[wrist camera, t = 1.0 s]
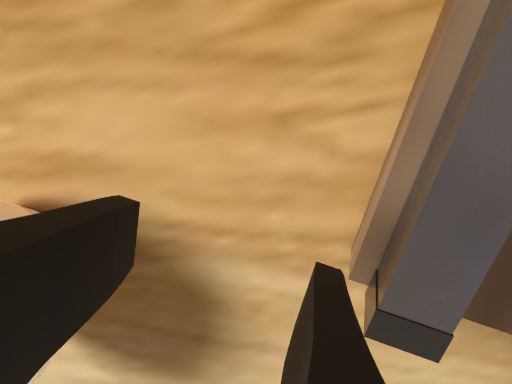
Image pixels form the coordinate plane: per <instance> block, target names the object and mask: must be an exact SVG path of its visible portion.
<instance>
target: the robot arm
mask: <svg viewBox="0 0 512 384" xmlns="http://www.w3.org/2000/svg"><path fill="white" fill-rule="evenodd" d="M139 207H140V202H138V201H135V200H132V199H129V198H126V197H123V196H120V195H118V196H111V197H105V198H100V199H96V200H91V201H87V202H83V203H79V204H75V205H70V206H66V207H62V208H58V209H54V210H49V211H45V212H41V213H37V214H32V215H27V216H22V217H17V218H12V219H7V220H3V221H0V384H28V383H29V381H30V380H31V379H32V378H33V377H34V376H35V374H36V373H37V372H38V371H39V370H40V369H41V368H42V367H43V366H44V365H45V363H46V362H47V361H48V360H49V359H50V358H51V357H52V356H53V355H54V354H55V353H56V352H57V351H58V350H59V349H60V348H61V347H62V346H63V345H64V344H65V343H66V342H67V341H68V340H69V339H70V338H71V337H72V336H73V335H74V334H75V333H76V332H77V331H78V330H79V329H80V328H81V327H82V326H83V325H84V324H85V323H86V322H87V321H88V320H89V319H90V318H91V317H92V315H93V314H94V313H95V312H96V311H97V310H98V309H99V308H100V307H101V306H102V305H103V304H104V303H105V302H106V301H107V300H108V299H109V298H110V297H111V296H112V294H113V293H114V292H115V290H116V289H117V288H118V287H119V285H120V284H121V283H122V281H123V280H124V278H125V277H126V276H127V274H128V273H129V272H130V270H131V269H132V267H133V265H134V255H135V246H136V236H137V226H138V216H139ZM281 384H385V382H384V380H383V378H382V376H381V374H380V372H379V370H378V368H377V366H376V363H375V361H374V359H373V357H372V355H371V353H370V350H369V348H368V346H367V343H366V341H365V338H364V336H363V333H362V331H361V328H360V325H359V323H358V320H357V318H356V315H355V312H354V309H353V306H352V303H351V300H350V297H349V293H348V290H347V286H346V282H345V278H344V275H343V273H342V271H341V270H340V269H337V268H334V267H331V266H328V265H325V264H322V263H319V262H316V264H315V267H314V270H313V273H312V276H311V279H310V282H309V285H308V288H307V291H306V294H305V297H304V300H303V303H302V306H301V309H300V312H299V314H298V317H297V320H296V323H295V327H294V330H293V334H292V337H291V341H290V344H289V348H288V351H287V355H286V358H285V362H284V368H283V374H282V380H281Z"/></svg>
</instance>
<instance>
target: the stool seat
mask: <svg viewBox="0 0 512 384" xmlns="http://www.w3.org/2000/svg"><path fill="white" fill-rule="evenodd" d="M489 3H490V0H446V1H445V3H444V6H443V9H442V11H441V14H440V16H439V19H438V22H437V24H436V27H435V30H434V32H433V35H432V38H431V40H430V43H429V46H428V48H427V51H426V54H425V56H424V59H423V61H422V64H421V67H420V69H419V72H418V75H417V77H416V80H415V83H414V85H413V88H412V91H411V93H410V96H409V98H408V101H407V104H406V106H405V109H404V112H403V114H402V117H401V120H400V122H399V125H398V128H397V130H396V133H395V136H394V138H393V141H392V143H391V146H390V149H389V151H388V154H387V157H386V159H385V162H384V165H383V167H382V170H381V173H380V175H379V178H378V180H377V183H376V186H375V188H374V191H373V194H372V196H371V199H370V202H369V204H368V207H367V210H366V212H365V215H364V218H363V220H362V223H361V225H360V228H359V231H358V233H357V236H356V239H355V241H354V244H353V247H352V251H351V261H350V271H349V279H350V280H353V281H356V282H359V283H361V284H364V285H367V286H369V283H370V281H371V278H372V276H373V274H374V271H375V269H377V268H378V266H379V264H380V261H381V259H382V256H383V254H384V252H385V249H386V247H387V245H388V242H389V240H390V237H391V235H392V233H393V230H394V228H395V226H396V223H397V221H398V218H399V216H400V214H401V211H402V209H403V207H404V204H405V202H406V199H407V197H408V195H409V192H410V190H411V188H412V185H413V183H414V181H415V178H416V176H417V173H418V171H419V169H420V166H421V164H422V162H423V159H424V157H425V154H426V152H427V150H428V147H429V145H430V143H431V140H432V138H433V135H434V133H435V131H436V128H437V126H438V124H439V121H440V119H441V116H442V114H443V112H444V109H445V107H446V105H447V102H448V100H449V97H450V95H451V93H452V90H453V88H454V86H455V83H456V81H457V78H458V76H459V74H460V71H461V69H462V67H463V64H464V62H465V59H466V57H467V55H468V52H469V50H470V48H471V45H472V43H473V40H474V38H475V36H476V33H477V31H478V29H479V26H480V24H481V21H482V19H483V17H484V14H485V12H486V10H487V7H488V5H489ZM462 318H465V319H468V320H471V321H474V322H476V323H479V324H482V325H485V326H488V327H491V328H494V329H497V330H500V331H503V332H506V333H509V334H512V230H511V231H510V233H509V235H508V237H507V239H506V240H505V242H504V244H503V246H502V247H501V249H500V251H499V253H498V254H497V256H496V258H495V260H494V261H493V263H492V265H491V267H490V268H489V270H488V272H487V274H486V276H485V277H484V279H483V281H482V283H481V284H480V286H479V288H478V290H477V291H476V293H475V295H474V297H473V298H472V300H471V302H470V304H469V305H468V307H467V309H466V311H465V313H464V314H463V316H462Z"/></svg>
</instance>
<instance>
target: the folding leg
mask: <svg viewBox="0 0 512 384" xmlns="http://www.w3.org/2000/svg"><path fill="white" fill-rule="evenodd" d="M511 230H512V0H490V3H489V5H488V7H487V10H486V12H485V14H484V17H483V19H482V21H481V24H480V26H479V29H478V31H477V33H476V36H475V38H474V40H473V43H472V45H471V48H470V50H469V52H468V55H467V57H466V59H465V62H464V64H463V67H462V69H461V71H460V74H459V76H458V78H457V81H456V83H455V86H454V88H453V90H452V93H451V95H450V97H449V100H448V102H447V105H446V107H445V109H444V112H443V114H442V116H441V119H440V121H439V124H438V126H437V128H436V131H435V133H434V135H433V138H432V140H431V143H430V145H429V147H428V150H427V152H426V154H425V157H424V159H423V162H422V164H421V166H420V169H419V171H418V173H417V176H416V178H415V181H414V183H413V185H412V188H411V190H410V192H409V195H408V197H407V199H406V202H405V204H404V207H403V209H402V211H401V214H400V216H399V218H398V221H397V223H396V226H395V228H394V230H393V233H392V235H391V237H390V240H389V242H388V245H387V247H386V249H385V252H384V254H383V256H382V259H381V261H380V264H379V266H378V268H377V269H375V271H374V274H373V276H372V278H371V281H370V283H369V286H368V288H367V290H366V293H365V320H364V337H367V338H370V339H372V340H375V341H378V342H381V343H384V344H386V345H389V346H392V347H395V348H398V349H400V350H403V351H406V352H409V353H411V354H414V355H417V356H420V357H423V358H425V359H428V360H431V361H434V362H436V363H439V361H440V360H441V358H442V356H443V354H444V353H445V351H446V349H447V347H448V346H449V344H450V342H451V340H452V339H453V337H454V336H453V332H454V330H455V328H456V327H457V325H458V323H459V321H460V320H461V318H462V316H463V314H464V313H465V311H466V309H467V307H468V305H469V304H470V302H471V300H472V298H473V297H474V295H475V293H476V291H477V290H478V288H479V286H480V284H481V283H482V281H483V279H484V277H485V276H486V274H487V272H488V270H489V268H490V267H491V265H492V263H493V261H494V260H495V258H496V256H497V254H498V253H499V251H500V249H501V247H502V246H503V244H504V242H505V240H506V239H507V237H508V235H509V233H510V231H511Z"/></svg>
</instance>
